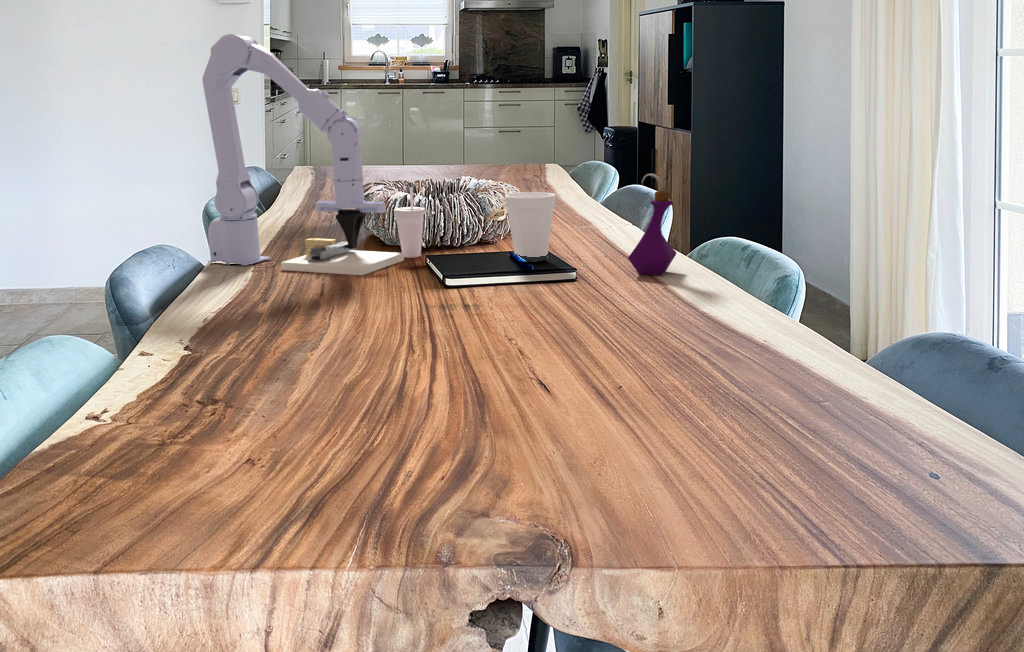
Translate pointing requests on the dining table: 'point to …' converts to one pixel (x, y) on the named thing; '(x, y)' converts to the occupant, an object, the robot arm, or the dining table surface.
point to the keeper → (317, 243)
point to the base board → (345, 262)
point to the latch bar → (329, 250)
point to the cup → (530, 221)
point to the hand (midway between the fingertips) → (352, 248)
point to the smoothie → (410, 228)
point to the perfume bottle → (654, 239)
